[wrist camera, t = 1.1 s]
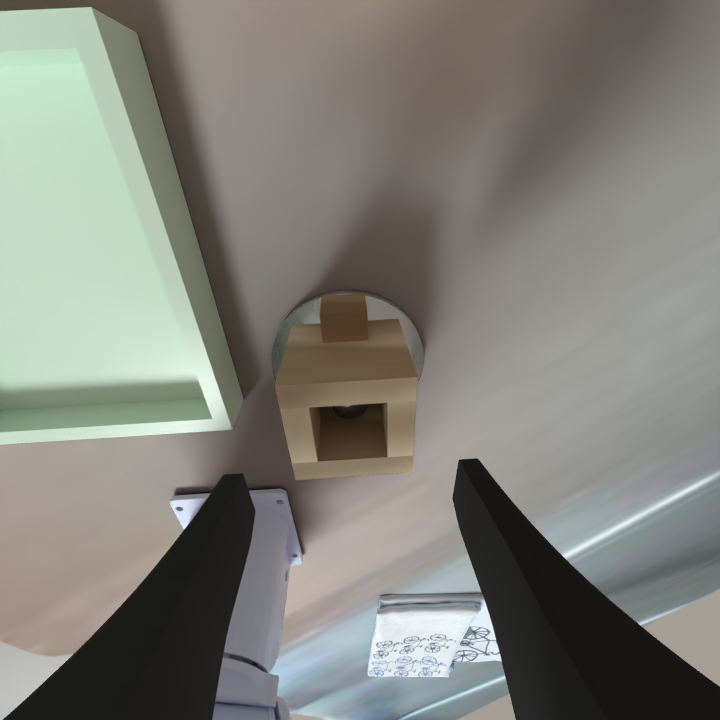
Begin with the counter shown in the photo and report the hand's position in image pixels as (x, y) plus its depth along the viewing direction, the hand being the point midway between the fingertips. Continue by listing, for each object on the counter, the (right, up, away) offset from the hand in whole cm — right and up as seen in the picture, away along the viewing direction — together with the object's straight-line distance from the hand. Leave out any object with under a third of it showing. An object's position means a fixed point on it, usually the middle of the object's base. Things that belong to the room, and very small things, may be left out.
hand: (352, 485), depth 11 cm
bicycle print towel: (+11, -27, +28) cm, 40 cm away
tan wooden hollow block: (0, +4, +6) cm, 8 cm away
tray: (-14, +8, +4) cm, 16 cm away
